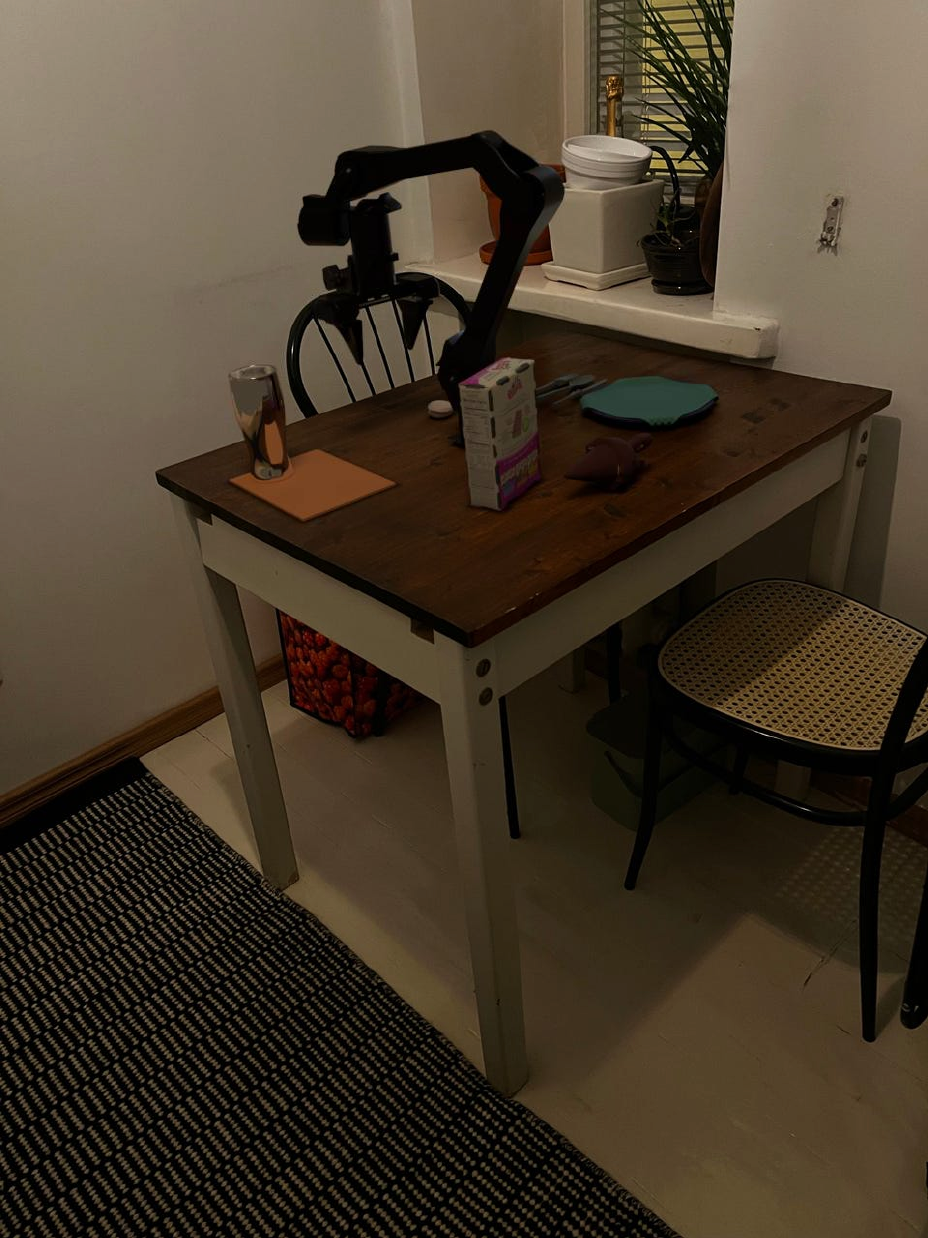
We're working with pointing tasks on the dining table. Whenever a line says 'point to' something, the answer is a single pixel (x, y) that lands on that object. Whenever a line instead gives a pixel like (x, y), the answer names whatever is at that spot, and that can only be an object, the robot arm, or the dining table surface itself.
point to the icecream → (610, 461)
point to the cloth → (316, 485)
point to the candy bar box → (500, 432)
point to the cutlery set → (637, 398)
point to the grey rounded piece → (440, 409)
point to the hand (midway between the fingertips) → (385, 356)
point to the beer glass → (262, 420)
